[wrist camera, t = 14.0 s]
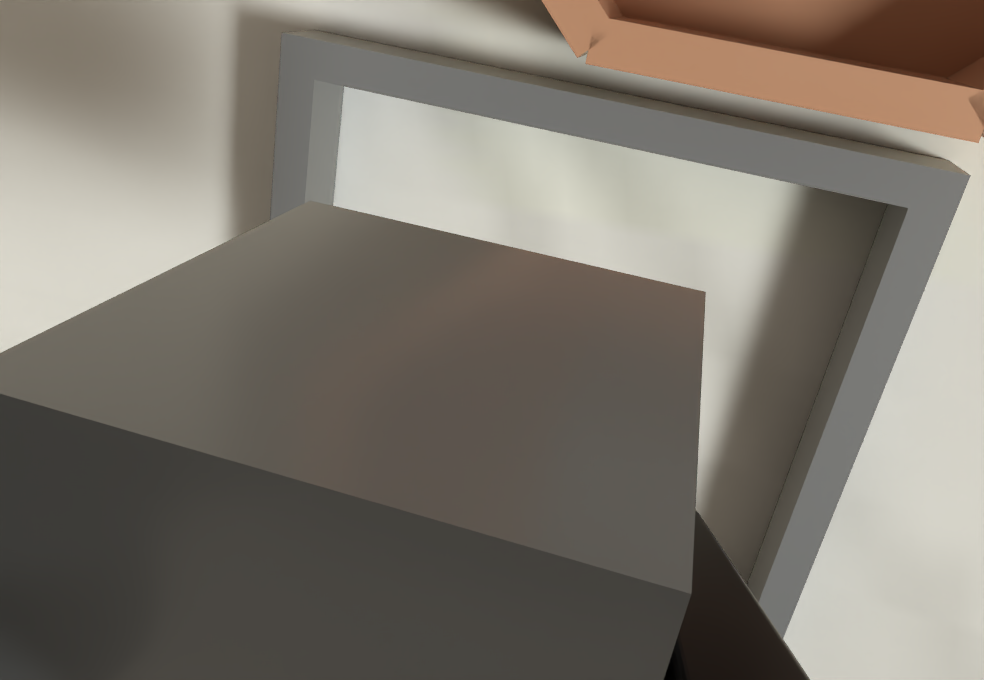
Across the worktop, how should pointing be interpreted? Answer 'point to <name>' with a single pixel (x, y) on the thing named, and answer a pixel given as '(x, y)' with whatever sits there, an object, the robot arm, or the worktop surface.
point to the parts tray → (689, 136)
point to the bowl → (801, 53)
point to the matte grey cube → (353, 466)
